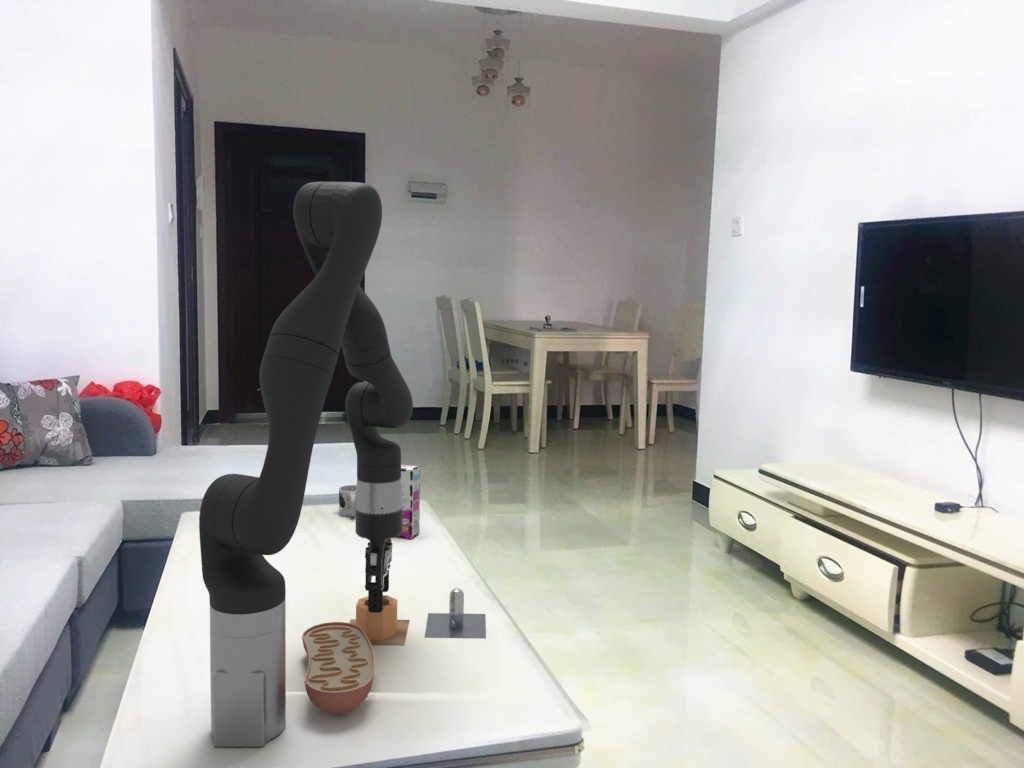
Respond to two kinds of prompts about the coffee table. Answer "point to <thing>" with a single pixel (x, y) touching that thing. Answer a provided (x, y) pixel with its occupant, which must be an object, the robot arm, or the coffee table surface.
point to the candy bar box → (410, 501)
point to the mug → (347, 501)
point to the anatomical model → (338, 666)
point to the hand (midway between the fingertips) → (379, 601)
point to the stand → (394, 640)
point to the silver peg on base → (456, 621)
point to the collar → (377, 619)
